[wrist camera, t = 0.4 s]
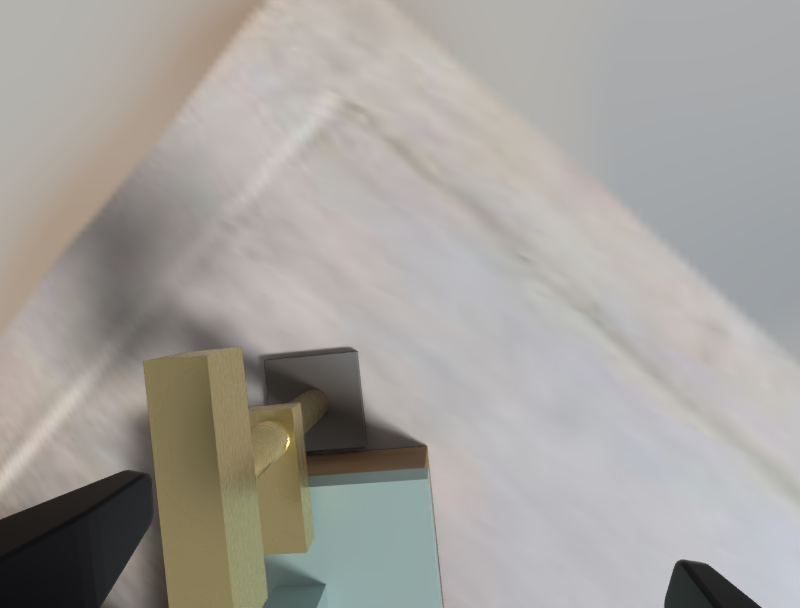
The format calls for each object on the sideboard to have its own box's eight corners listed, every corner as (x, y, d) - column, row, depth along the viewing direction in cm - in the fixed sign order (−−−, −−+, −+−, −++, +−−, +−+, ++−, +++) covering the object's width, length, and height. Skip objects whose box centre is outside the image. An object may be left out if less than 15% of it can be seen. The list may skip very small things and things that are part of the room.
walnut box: (449, 659, 23) (450, 725, 19) (242, 666, 24) (207, 731, 20) (416, 345, 23) (411, 354, 19) (211, 365, 23) (170, 376, 20)
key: (341, 488, 22) (243, 669, 11) (304, 491, 23) (171, 672, 12) (325, 326, 22) (210, 354, 11) (287, 330, 23) (139, 361, 12)
